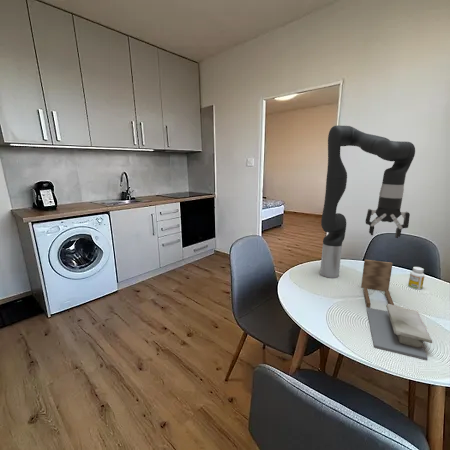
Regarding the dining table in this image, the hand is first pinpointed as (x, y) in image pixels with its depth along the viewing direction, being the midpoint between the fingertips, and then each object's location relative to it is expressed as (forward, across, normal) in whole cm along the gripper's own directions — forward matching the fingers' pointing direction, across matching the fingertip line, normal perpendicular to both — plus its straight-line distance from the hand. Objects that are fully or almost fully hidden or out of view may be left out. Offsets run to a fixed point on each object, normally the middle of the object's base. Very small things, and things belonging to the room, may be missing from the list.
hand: (383, 236), depth 101 cm
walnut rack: (+30, +2, +1) cm, 30 cm away
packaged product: (+26, +3, -19) cm, 32 cm away
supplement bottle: (+30, +20, +23) cm, 42 cm away
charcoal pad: (+29, +4, -20) cm, 35 cm away
